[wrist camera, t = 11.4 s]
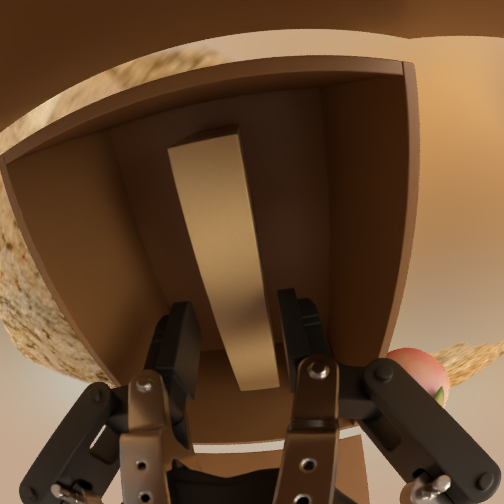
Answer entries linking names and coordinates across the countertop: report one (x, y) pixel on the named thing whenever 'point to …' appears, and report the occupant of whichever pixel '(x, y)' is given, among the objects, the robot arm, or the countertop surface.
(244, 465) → the flap
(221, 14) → the carton
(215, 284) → the tan wooden block
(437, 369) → the decorative fruit
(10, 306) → the countertop surface
